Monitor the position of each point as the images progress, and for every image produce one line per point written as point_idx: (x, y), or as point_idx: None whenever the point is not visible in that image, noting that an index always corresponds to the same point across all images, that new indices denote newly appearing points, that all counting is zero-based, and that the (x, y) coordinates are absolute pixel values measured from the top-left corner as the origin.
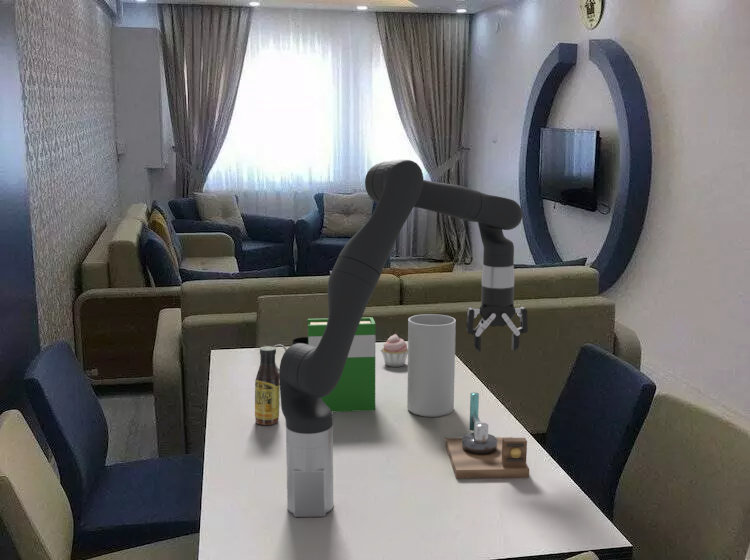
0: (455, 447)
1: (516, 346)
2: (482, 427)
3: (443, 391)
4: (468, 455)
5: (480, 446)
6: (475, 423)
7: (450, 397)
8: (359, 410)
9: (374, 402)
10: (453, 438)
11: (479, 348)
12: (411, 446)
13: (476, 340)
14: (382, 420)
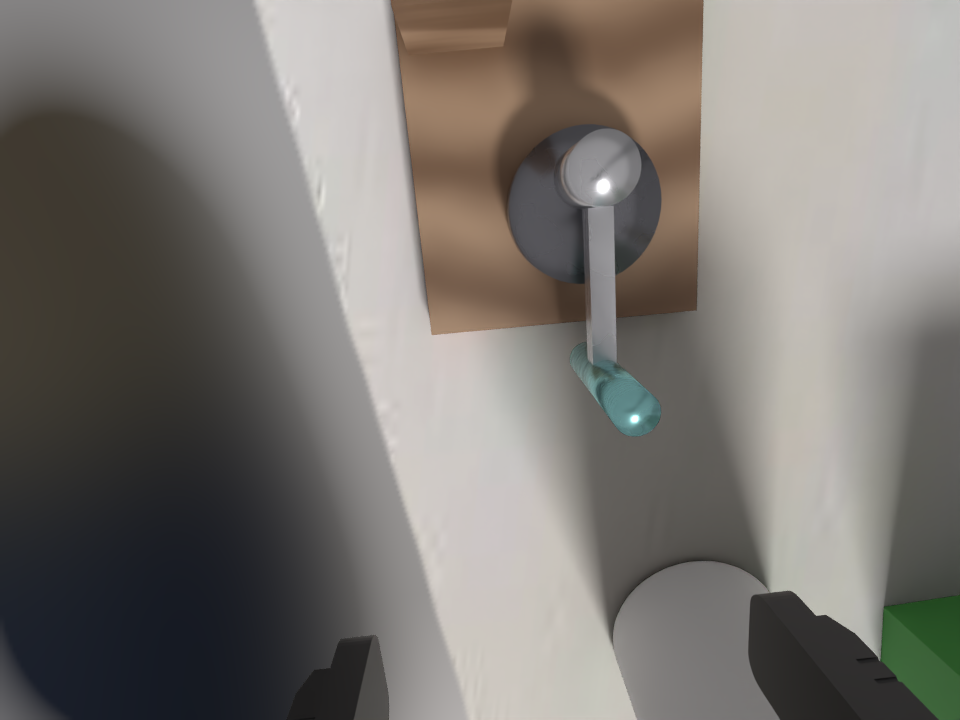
0: (671, 214)
1: (327, 689)
2: (603, 131)
3: (697, 642)
4: (630, 129)
5: (591, 124)
6: (631, 189)
7: (650, 638)
8: (940, 599)
9: (911, 628)
10: (666, 307)
11: (790, 612)
12: (809, 293)
13: (907, 716)
14: (874, 522)
